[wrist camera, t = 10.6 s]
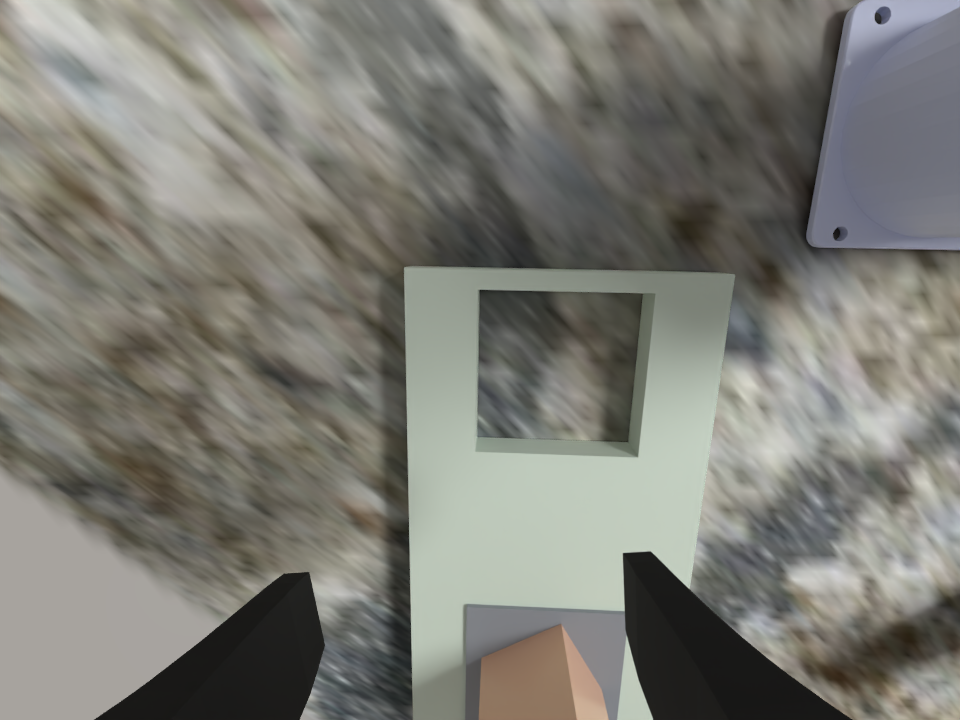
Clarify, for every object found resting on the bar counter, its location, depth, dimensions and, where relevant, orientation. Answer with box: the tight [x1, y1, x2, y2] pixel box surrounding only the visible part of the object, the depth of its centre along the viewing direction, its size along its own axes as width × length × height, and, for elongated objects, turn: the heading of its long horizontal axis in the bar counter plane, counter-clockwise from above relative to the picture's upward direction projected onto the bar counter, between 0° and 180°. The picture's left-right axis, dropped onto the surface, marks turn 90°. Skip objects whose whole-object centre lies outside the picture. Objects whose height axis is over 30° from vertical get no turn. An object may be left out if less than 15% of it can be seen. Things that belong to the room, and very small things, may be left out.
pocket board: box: [404, 266, 735, 720], centre depth 20 cm, size 12×22×2 cm, turn 179°
